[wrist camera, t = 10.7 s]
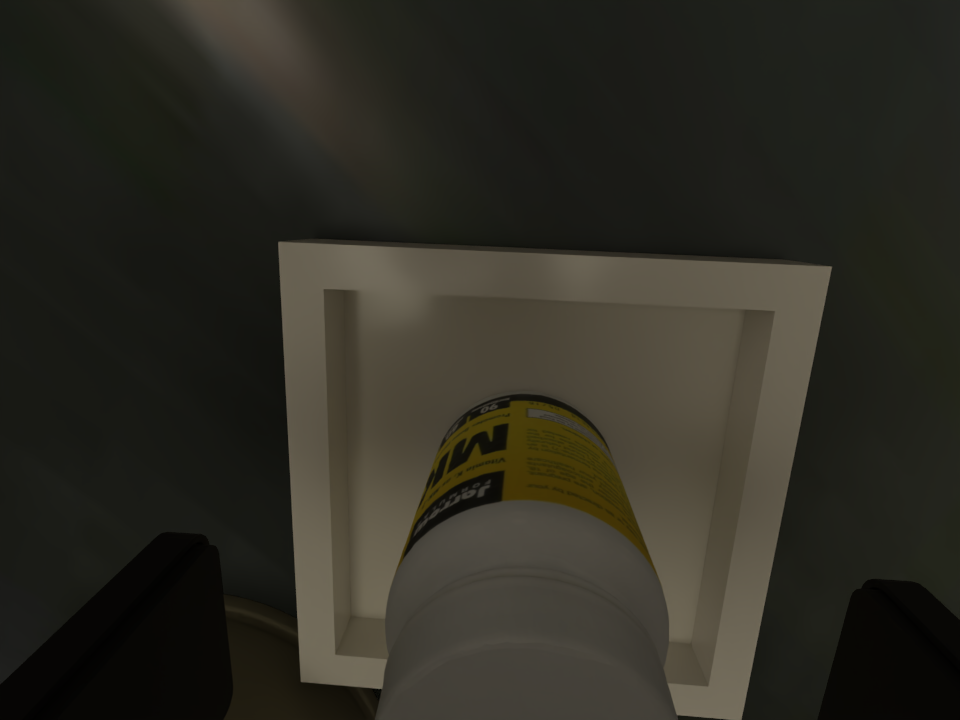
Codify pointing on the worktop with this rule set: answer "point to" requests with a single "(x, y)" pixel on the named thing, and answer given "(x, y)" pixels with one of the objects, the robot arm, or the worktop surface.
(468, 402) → the tray
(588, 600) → the supplement bottle
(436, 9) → the worktop surface
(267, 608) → the can
